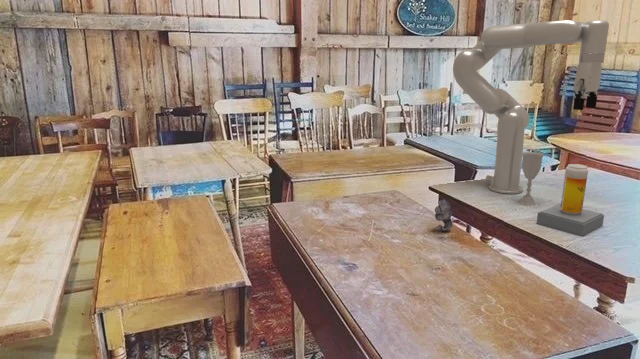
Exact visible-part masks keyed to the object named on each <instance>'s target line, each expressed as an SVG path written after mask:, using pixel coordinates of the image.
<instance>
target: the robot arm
mask: <svg viewBox="0 0 640 359" xmlns="http://www.w3.org/2000/svg"><path fill="white" fill-rule="evenodd" d="M609 28H610V24H609V22H608V21H607V20H588V21H586V22H584V21H581V22H580V21H577V20H573V19H565V20H554V21H553V20H552V21H544V22H543V21H542V22H527V23H526V22H525V23H516V24H515V23H514V24H501V25H491V26H488V27H486V28H485V29H484V30H483V31H482V32H481V35H480V40H479V41H478V42H477V43H476V44H475V46H473V47H472V48H467V49H464V50H461V51H460V52H459V53H458V54H456V55H457V56H455V59H454V61H453V66H452V73H453V78H454V79H455V82H456V84H458V86H459V87H460V88H461V89H462V91H463V92H465V93H466V94H467V95H468V96H469V97H470V98H471V100H472V101H474V102H475V104H477V105H478V106H479V108H480V109H481V110H482V111H483V112H484V113H486V114H488V115H495V117H496V118H498V121H497V126H496V129H497V130H496V131H497V134H496V135H497V136H496V151H495V152H496V153H495V160H494V161H495V164H494V172H493V176H492V175H489V174H487V175H486V176H485V182H490V184H489V185H488V189H489V190H490V191H492V192H495V193H500V194H509V195H510V194H511V195H515V194H520V193H522V192H523V191H524V188H523V187H522V186H521V185H520V180H521V171H522V160H523V155H522V153H523V152H524V143H525V142H524V140H525V138H524V137H525V129H526V128H527V126H528V125H529V123H530V114H529V112H528V111H527V110H526V109H525V107H523V106H522V104H520V103H519V102H518V101H517V100H516V99H515V98H514V97H513V96H512V95H511V94H510V93H508V91H506V90H504V89H502V88H499V87H497V88H495V87H494V86H493V85H492V84H491V83H490V82H489V81H488V80H487V79H485V78H484V76H483V75H481V74H480V73H479V72H478V70H481V69H482V68H483V67H485V66H486V65H487V64H488V63H489V62H490V61H491V60H492V59H494V57H496V55H497V54H498V53H500V51H501V50H506V49H507V50H508V49H523V48H532V47H535V46H543V45H556V44H557V45H558V44H559V45H560V44H563V45H564V44H569V45H570V44H571V45H572V44H577V43H580V48H579V49H580V51H579V56H578V57H579V58H578V64H577V69H576V72H575V77H574V83H573V90H572V91H573V92H574V97H573V98H574V100H573V106H572V109H573V110H577V111H583V110H584V108H585V107H586V108H589V109H590V108H591V109H595V108H596V107H597V102H598V96H599V92H600V87H601V79H602V66H603V65H602V64H604V63H605V57H606V56H605V54H606V49H607V44H608V43H607V42H608V36H609ZM586 94H588V95H586ZM585 96H586V99H585ZM585 100H586V102H585Z"/></svg>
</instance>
